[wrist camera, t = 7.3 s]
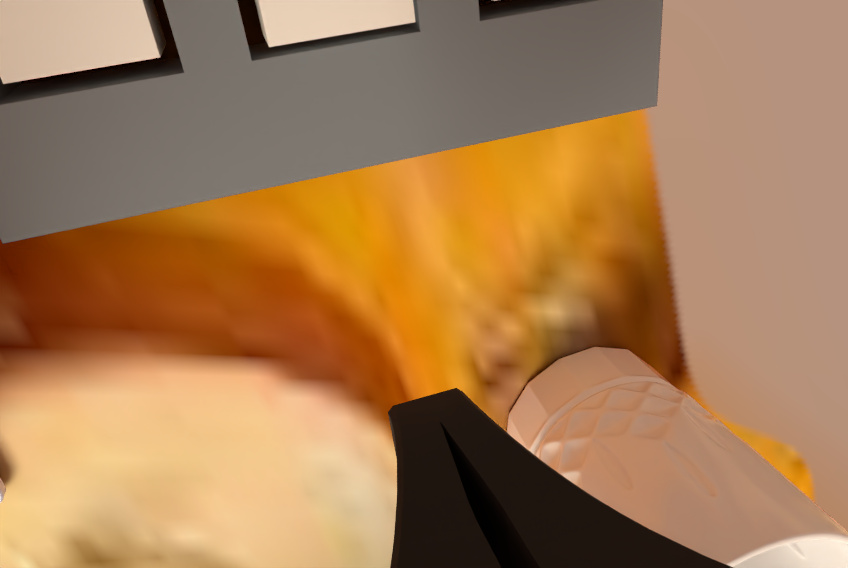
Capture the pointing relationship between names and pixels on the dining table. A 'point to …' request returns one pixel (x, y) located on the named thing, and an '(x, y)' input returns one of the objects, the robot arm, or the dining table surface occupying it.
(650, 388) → the white cup
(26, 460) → the dining table surface
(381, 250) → the dining table surface
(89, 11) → the button
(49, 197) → the button board
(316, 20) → the middle button
